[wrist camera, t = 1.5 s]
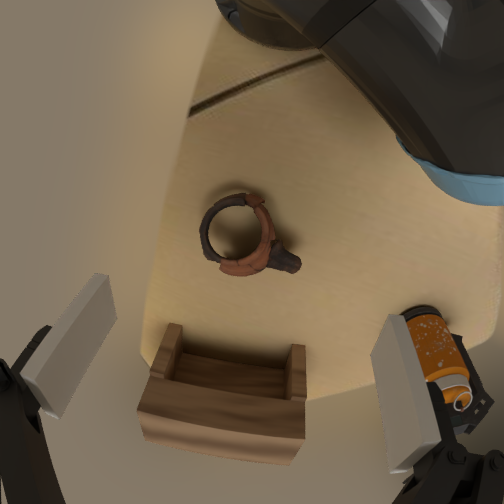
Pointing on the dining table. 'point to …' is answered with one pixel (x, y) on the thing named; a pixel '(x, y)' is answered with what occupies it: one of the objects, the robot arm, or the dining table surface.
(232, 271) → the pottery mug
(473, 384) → the canister
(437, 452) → the robot arm
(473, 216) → the dining table surface
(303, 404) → the hutch
